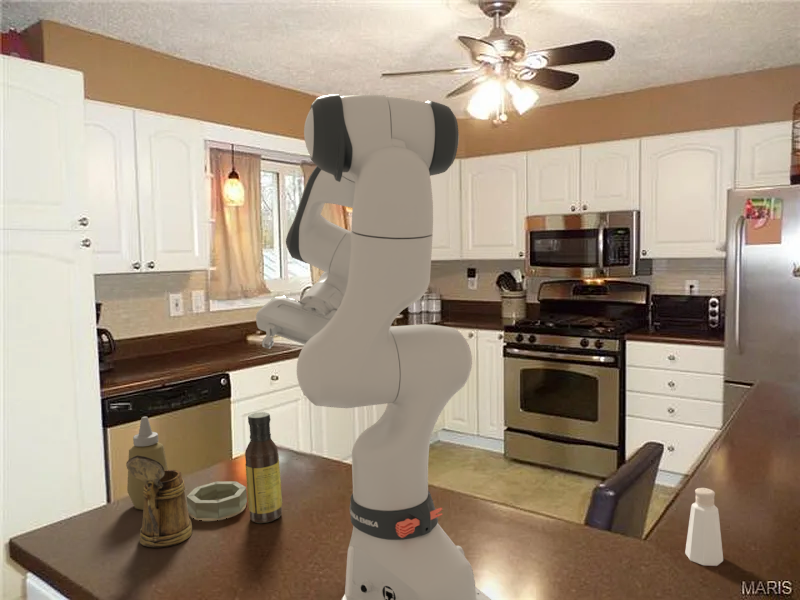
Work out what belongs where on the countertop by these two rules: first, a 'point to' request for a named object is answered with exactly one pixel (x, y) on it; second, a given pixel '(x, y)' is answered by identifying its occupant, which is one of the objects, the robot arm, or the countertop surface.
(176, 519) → the wooden mug
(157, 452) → the squeeze bottle
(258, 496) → the sauce bottle
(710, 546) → the salt shaker
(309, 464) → the countertop surface
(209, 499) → the grey faceted bowl
